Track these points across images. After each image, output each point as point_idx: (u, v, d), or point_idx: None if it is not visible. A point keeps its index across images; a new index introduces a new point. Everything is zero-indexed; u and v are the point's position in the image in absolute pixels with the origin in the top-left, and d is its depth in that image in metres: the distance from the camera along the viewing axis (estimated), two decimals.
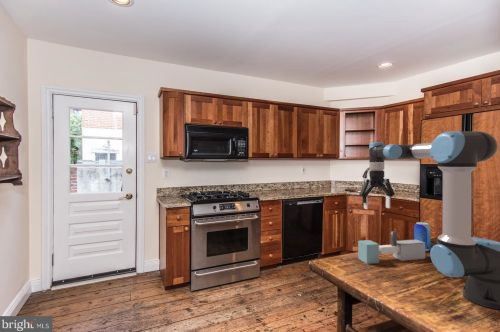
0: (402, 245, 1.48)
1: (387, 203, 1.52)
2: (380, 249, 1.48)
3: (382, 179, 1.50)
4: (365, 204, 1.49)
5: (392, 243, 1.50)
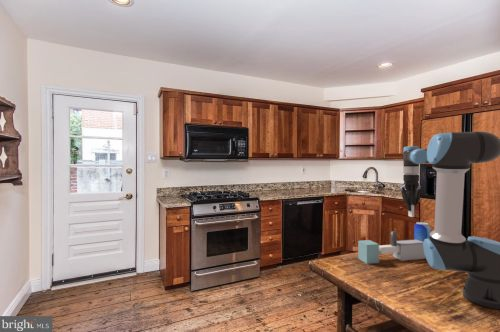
0: (402, 245, 1.48)
1: None
2: (380, 249, 1.48)
3: (417, 183, 1.50)
4: (410, 212, 1.51)
5: (392, 243, 1.50)
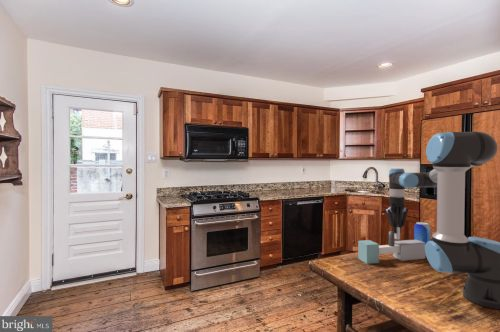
0: (402, 245, 1.48)
1: None
2: None
3: (403, 205, 1.50)
4: (396, 234, 1.51)
5: (390, 243, 1.50)
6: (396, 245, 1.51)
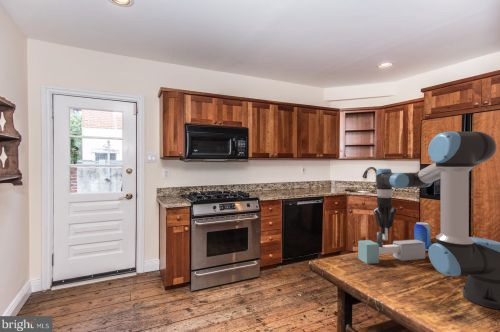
0: (402, 245, 1.48)
1: None
2: None
3: (391, 205, 1.49)
4: (384, 235, 1.49)
5: None
6: (384, 246, 1.49)
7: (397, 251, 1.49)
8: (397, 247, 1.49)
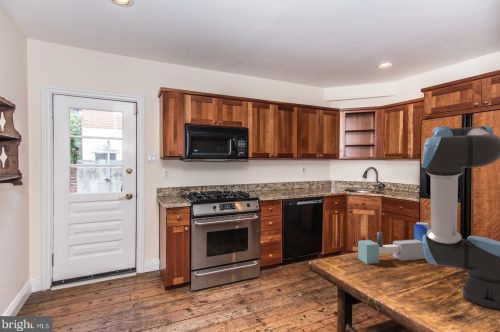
0: (402, 245, 1.48)
1: None
2: None
3: None
4: None
5: None
6: (384, 246, 1.49)
7: (397, 251, 1.49)
8: (397, 247, 1.49)
